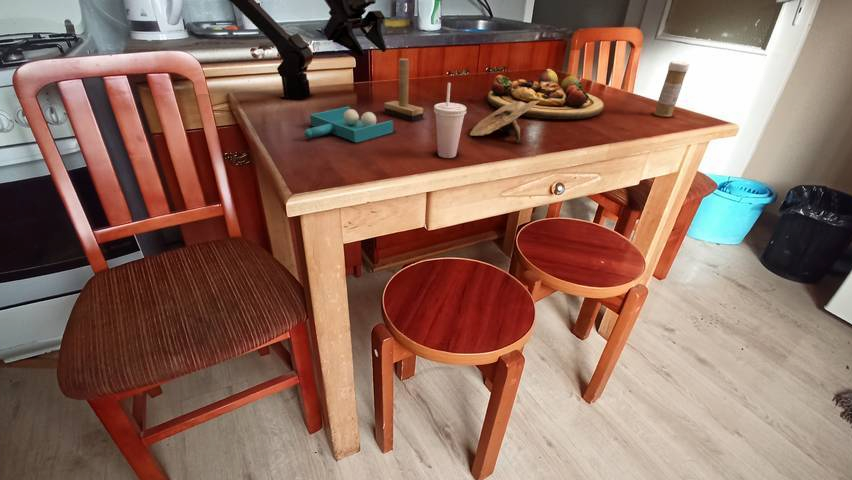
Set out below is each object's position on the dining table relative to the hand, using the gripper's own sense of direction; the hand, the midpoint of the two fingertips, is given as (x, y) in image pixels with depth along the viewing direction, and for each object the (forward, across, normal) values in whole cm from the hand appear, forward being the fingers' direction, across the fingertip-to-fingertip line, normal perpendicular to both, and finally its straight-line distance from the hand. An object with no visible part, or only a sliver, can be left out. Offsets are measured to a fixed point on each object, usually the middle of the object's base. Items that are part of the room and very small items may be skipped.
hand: (374, 53), depth 114 cm
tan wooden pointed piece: (+36, -2, -16) cm, 39 cm away
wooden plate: (+35, +31, -16) cm, 50 cm away
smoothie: (+33, -20, -14) cm, 42 cm away
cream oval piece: (+16, -17, +2) cm, 23 cm away
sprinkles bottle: (+57, +42, -37) cm, 80 cm away
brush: (+17, -2, +2) cm, 17 cm away
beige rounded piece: (+13, -16, +5) cm, 21 cm away
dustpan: (+14, -22, +5) cm, 27 cm away
